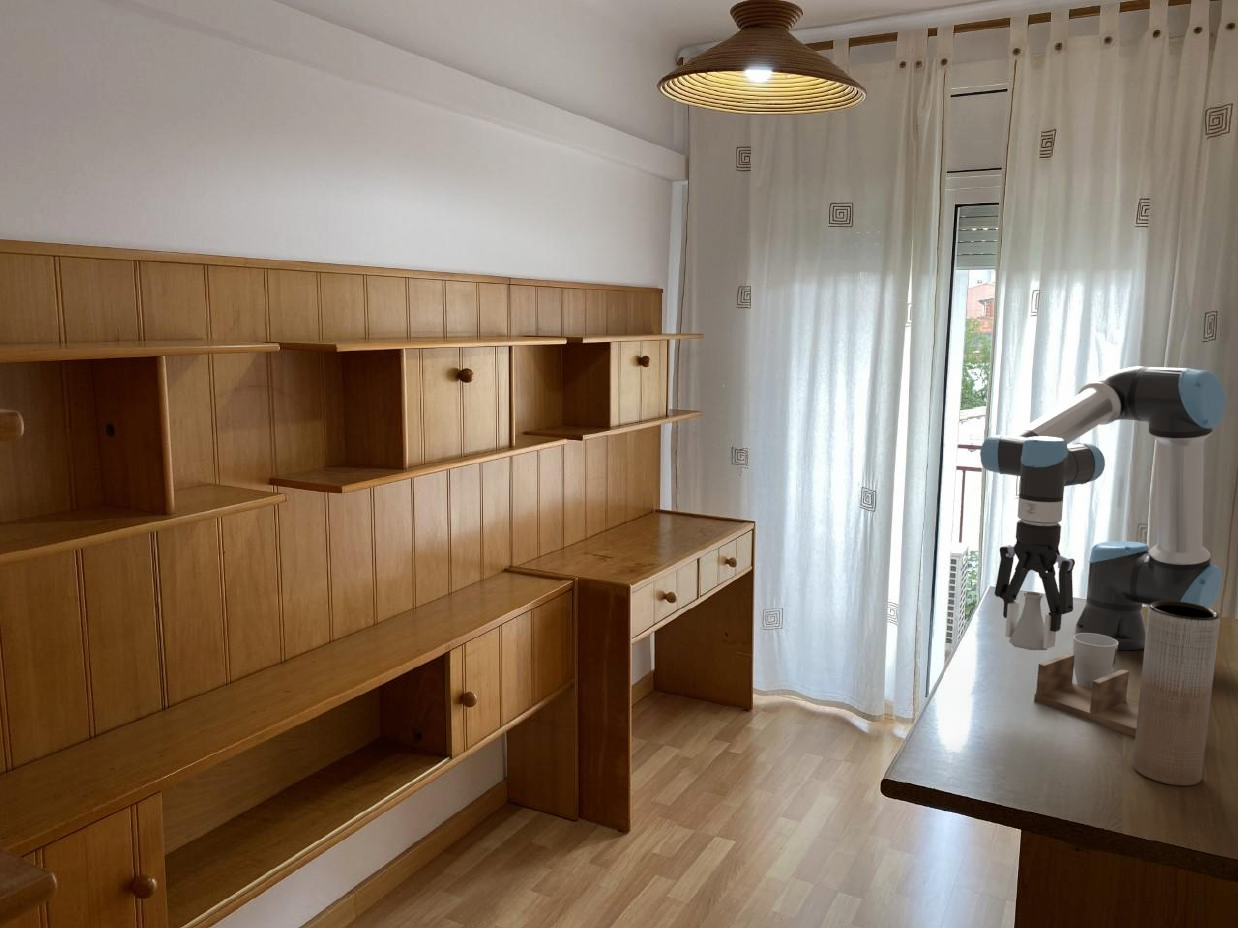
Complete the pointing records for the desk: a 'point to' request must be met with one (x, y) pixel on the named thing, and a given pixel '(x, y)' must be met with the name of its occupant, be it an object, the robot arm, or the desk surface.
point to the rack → (1087, 695)
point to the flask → (1030, 624)
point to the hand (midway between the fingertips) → (1029, 640)
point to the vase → (1175, 692)
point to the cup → (1093, 657)
